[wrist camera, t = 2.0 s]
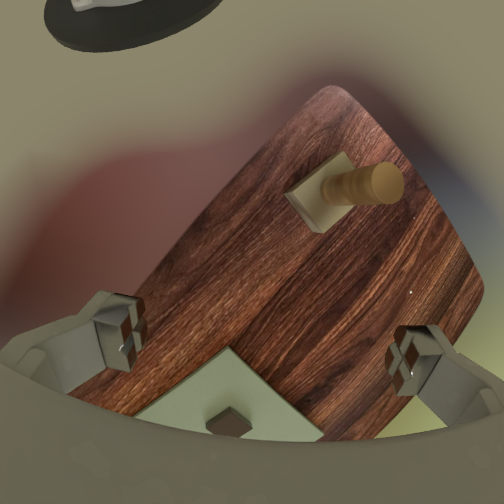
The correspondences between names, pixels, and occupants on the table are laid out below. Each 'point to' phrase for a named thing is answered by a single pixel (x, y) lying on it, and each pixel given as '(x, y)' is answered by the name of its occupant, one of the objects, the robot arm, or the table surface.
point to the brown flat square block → (229, 424)
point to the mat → (230, 402)
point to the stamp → (343, 190)
